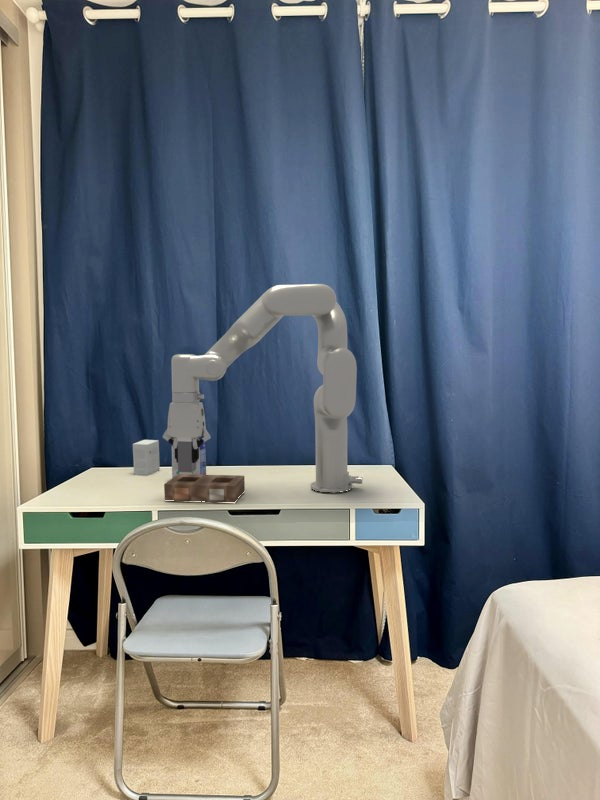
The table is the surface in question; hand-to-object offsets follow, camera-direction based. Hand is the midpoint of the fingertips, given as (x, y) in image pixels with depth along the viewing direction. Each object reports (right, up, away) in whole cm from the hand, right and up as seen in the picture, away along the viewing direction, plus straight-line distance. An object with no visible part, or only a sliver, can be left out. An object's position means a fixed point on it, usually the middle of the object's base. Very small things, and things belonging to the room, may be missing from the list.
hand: (187, 461), depth 172 cm
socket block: (+5, -10, +1) cm, 12 cm away
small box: (-20, -7, +32) cm, 38 cm away
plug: (0, -3, 0) cm, 3 cm away
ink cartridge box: (-3, -8, +21) cm, 23 cm away
